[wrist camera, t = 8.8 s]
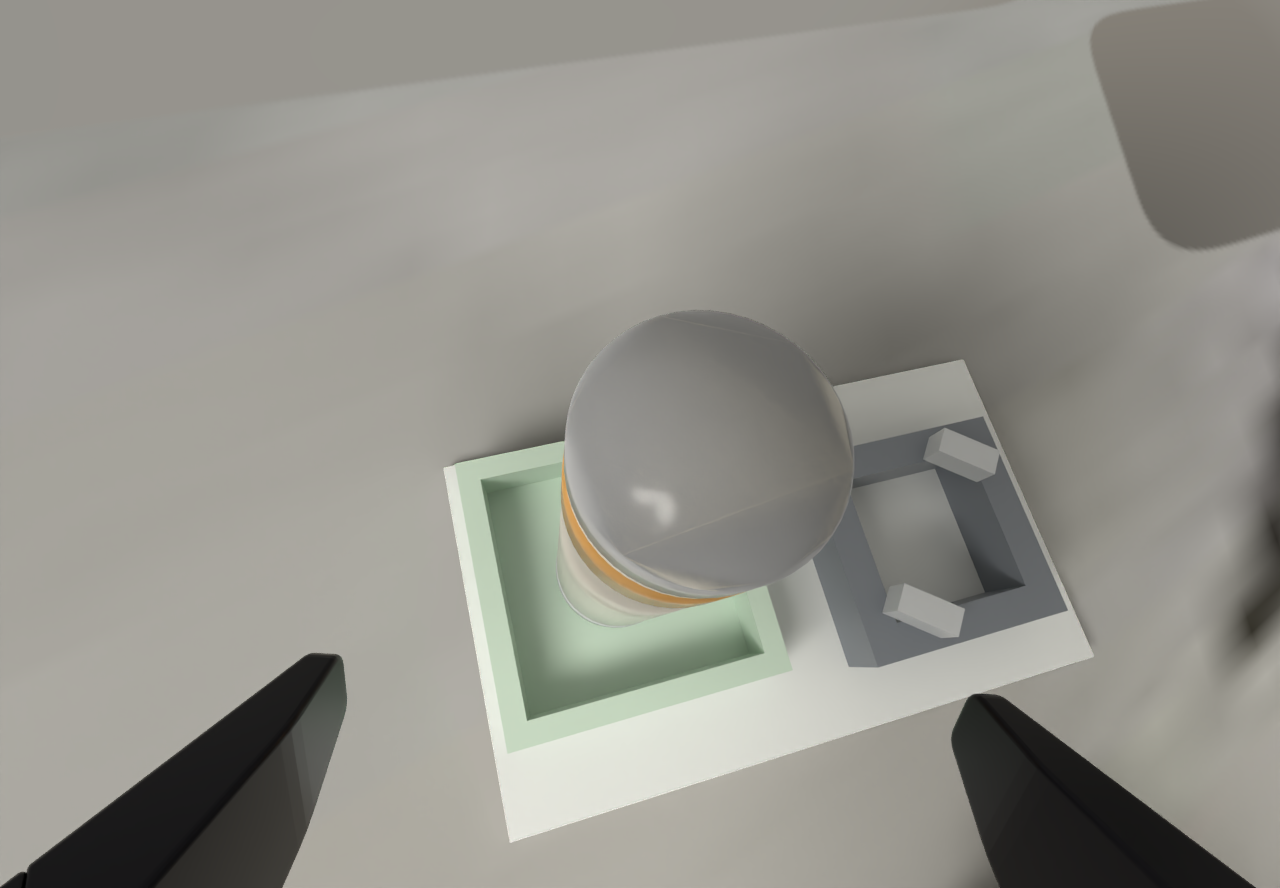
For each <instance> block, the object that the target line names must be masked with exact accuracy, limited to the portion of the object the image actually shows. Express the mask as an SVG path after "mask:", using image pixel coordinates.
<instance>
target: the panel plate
mask: <svg viewBox="0 0 1280 888" xmlns="http://www.w3.org/2000/svg"><path fill="white" fill-rule="evenodd" d="M833 388H834V390H835V391H836V393H837V395H838V397H839V398H840V401H841V403H842V405H843V408H844V410H845V413H846V415H847V418H848V422H849V426H850V429H851V433H852V440H853V446H856V445H860V444H865V443H869V442H873V441H878V440H882V439H886V438H891V437H895V436H899V435H904V434H908V433H913V432H917V431H921V430H926V429H930V428H934V427H939V426H943V425H948V424H952V423H956V422H961V421H965V420H969V419H974V418H978V417H982V416H983V417H984V420H985V422H986V424H987V426H988V429H989V431H990V433H991V436H992V438H993V440H994V442H995V445H996V447H997V449H998V450H999V451H1000V453H999V454H1000V456H1001V458H1002V461H1003V463H1004V465H1005V467H1006V470H1007V472H1008V474H1009V477H1010V479H1011V481H1012V483H1013V486H1014V488H1015V490H1016V493H1017V495H1018V497H1019V499H1020V502H1021V504H1022V506H1023V509H1024V511H1025V513H1026V515H1027V518H1028V520H1029V522H1030V524H1031V527H1032V529H1033V531H1034V534H1035V536H1036V538H1037V540H1038V543H1039V545H1040V547H1041V550H1042V552H1043V554H1044V556H1045V559H1046V561H1047V563H1048V565H1049V568H1050V570H1051V572H1052V575H1053V577H1054V579H1055V581H1056V584H1057V586H1058V588H1059V591H1060V593H1061V595H1062V597H1063V600H1064V602H1065V604H1066V607H1067V609H1068V611H1065V612H1062V613H1058V614H1055V615H1052V616H1048V617H1045V618H1042V619H1038V620H1035V621H1032V622H1028V623H1025V624H1022V625H1018V626H1015V627H1012V628H1008V629H1005V630H1002V631H998V632H995V633H992V634H988V635H985V636H982V637H978V638H975V639H972V640H968V641H965V642H962V643H958V644H955V645H952V646H948V647H945V648H942V649H938V650H935V651H932V652H928V653H925V654H922V655H918V656H915V657H912V658H908V659H905V660H902V661H898V662H895V663H892V664H888V665H885V666H882V667H878V668H875V667H849V666H848V663H847V660H846V657H845V654H844V651H843V648H842V645H841V642H840V639H839V636H838V633H837V630H836V627H835V624H834V621H833V618H832V615H831V612H830V609H829V606H828V603H827V600H826V597H825V594H824V591H823V588H822V585H821V582H820V580H819V577H818V574H817V571H816V568H815V565H814V562H813V559H811V560H810V561H809V562H808V563H807V564H805V565H804V566H802V567H801V568H799V569H798V570H797V571H795V572H794V573H792V574H791V575H789V576H787V577H785V578H782V579H780V580H778V581H776V582H774V583H772V584H768V585H766V586H767V589H768V592H769V595H770V598H771V602H772V605H773V608H774V611H775V614H776V618H777V621H778V624H779V627H780V631H781V634H782V637H783V640H784V643H785V647H786V650H787V653H788V656H789V660H790V663H791V666H792V669H793V670H792V671H789V672H785V673H782V674H778V675H775V676H771V677H768V678H765V679H761V680H758V681H754V682H751V683H748V684H744V685H741V686H737V687H734V688H731V689H727V690H724V691H720V692H717V693H713V694H710V695H707V696H703V697H700V698H696V699H693V700H690V701H686V702H683V703H679V704H676V705H673V706H669V707H666V708H662V709H659V710H656V711H652V712H649V713H645V714H642V715H638V716H635V717H632V718H628V719H625V720H621V721H618V722H615V723H611V724H608V725H604V726H601V727H598V728H594V729H591V730H587V731H584V732H580V733H577V734H574V735H570V736H567V737H563V738H560V739H557V740H553V741H550V742H546V743H543V744H540V745H536V746H533V747H529V748H526V749H523V750H519V751H516V752H512V753H509V754H507V748H506V743H505V737H504V732H503V726H502V721H501V715H500V710H499V705H498V699H497V694H496V688H495V683H494V677H493V672H492V666H491V661H490V655H489V650H488V644H487V639H486V633H485V628H484V622H483V617H482V611H481V606H480V600H479V595H478V590H477V584H476V579H475V573H474V568H473V562H472V557H471V551H470V546H469V540H468V535H467V529H466V524H465V518H464V513H463V507H462V502H461V496H460V491H459V486H458V480H457V475H456V469H455V465H454V466H449V467H445V468H444V474H445V480H446V485H447V491H448V497H449V502H450V508H451V513H452V519H453V525H454V530H455V536H456V542H457V547H458V553H459V559H460V564H461V570H462V576H463V581H464V587H465V593H466V598H467V604H468V609H469V615H470V621H471V626H472V632H473V638H474V643H475V649H476V655H477V660H478V666H479V672H480V677H481V683H482V688H483V694H484V700H485V705H486V711H487V717H488V722H489V728H490V734H491V739H492V745H493V751H494V756H495V762H496V768H497V773H498V779H499V784H500V790H501V796H502V801H503V807H504V813H505V818H506V824H507V830H508V835H509V841H510V843H511V842H514V841H517V840H521V839H524V838H527V837H530V836H533V835H536V834H539V833H542V832H546V831H549V830H552V829H555V828H558V827H561V826H564V825H568V824H571V823H574V822H577V821H580V820H583V819H586V818H590V817H593V816H596V815H599V814H602V813H605V812H608V811H612V810H615V809H618V808H621V807H624V806H627V805H630V804H634V803H637V802H640V801H643V800H646V799H649V798H652V797H656V796H659V795H662V794H665V793H668V792H671V791H674V790H678V789H681V788H684V787H687V786H690V785H693V784H696V783H699V782H703V781H706V780H709V779H712V778H715V777H718V776H721V775H725V774H728V773H731V772H734V771H737V770H740V769H743V768H747V767H750V766H753V765H756V764H759V763H762V762H765V761H769V760H772V759H775V758H778V757H781V756H784V755H787V754H791V753H794V752H797V751H800V750H803V749H806V748H809V747H813V746H816V745H819V744H822V743H825V742H828V741H831V740H834V739H838V738H841V737H844V736H847V735H850V734H853V733H856V732H860V731H863V730H866V729H869V728H872V727H875V726H878V725H882V724H885V723H888V722H891V721H894V720H897V719H900V718H904V717H907V716H910V715H913V714H916V713H919V712H922V711H926V710H929V709H932V708H935V707H938V706H941V705H944V704H948V703H951V702H954V701H957V700H960V699H963V698H966V697H970V696H971V695H972V694H979V693H982V692H985V691H988V690H991V689H995V688H998V687H1001V686H1004V685H1007V684H1010V683H1013V682H1017V681H1020V680H1023V679H1026V678H1029V677H1032V676H1035V675H1039V674H1042V673H1045V672H1048V671H1051V670H1054V669H1057V668H1061V667H1064V666H1067V665H1070V664H1073V663H1076V662H1079V661H1083V660H1086V659H1089V658H1092V657H1095V656H1094V654H1093V652H1092V650H1091V647H1090V645H1089V643H1088V641H1087V638H1086V636H1085V634H1084V632H1083V629H1082V627H1081V625H1080V622H1079V620H1078V618H1077V616H1076V613H1075V611H1074V609H1073V607H1072V604H1071V602H1070V600H1069V598H1068V595H1067V593H1066V591H1065V588H1064V586H1063V584H1062V582H1061V579H1060V577H1059V575H1058V573H1057V570H1056V568H1055V566H1054V564H1053V561H1052V559H1051V557H1050V555H1049V552H1048V550H1047V548H1046V545H1045V543H1044V541H1043V539H1042V536H1041V534H1040V532H1039V530H1038V527H1037V525H1036V523H1035V521H1034V518H1033V516H1032V514H1031V511H1030V509H1029V507H1028V505H1027V502H1026V500H1025V498H1024V496H1023V493H1022V491H1021V489H1020V487H1019V484H1018V482H1017V480H1016V477H1015V475H1014V473H1013V471H1012V468H1011V466H1010V464H1009V462H1008V459H1007V457H1006V455H1005V453H1004V450H1003V448H1002V446H1001V443H1000V441H999V439H998V437H997V434H996V432H995V430H994V428H993V425H992V423H991V421H990V419H989V416H988V414H987V412H986V409H985V407H984V405H983V403H982V400H981V398H980V396H979V394H978V391H977V389H976V387H975V385H974V382H973V380H972V378H971V375H970V373H969V371H968V369H967V366H966V364H965V362H964V360H963V359H961V360H957V361H952V362H947V363H942V364H937V365H933V366H928V367H923V368H918V369H913V370H909V371H904V372H899V373H894V374H890V375H885V376H880V377H875V378H870V379H866V380H861V381H856V382H851V383H846V384H842V385H837V386H833ZM850 495H851V498H852V500H853V503H854V506H855V509H856V511H857V514H858V517H859V520H860V522H861V525H862V528H863V531H864V533H865V536H866V539H867V542H868V544H869V547H870V550H871V553H872V556H873V558H874V561H875V564H876V567H877V569H878V572H879V575H880V578H881V580H882V583H883V586H884V589H885V591H886V594H887V593H888V589H889V587H890V586H894V585H898V584H903V583H906V584H908V585H910V586H913V587H915V588H917V589H920V590H922V591H924V592H927V593H929V594H931V595H934V596H936V597H938V598H941V599H943V600H945V601H948V602H953V601H957V600H960V599H964V598H967V597H971V596H974V595H978V594H981V593H985V591H984V589H983V586H982V584H981V581H980V579H979V576H978V574H977V571H976V569H975V566H974V564H973V561H972V559H971V557H970V554H969V552H968V549H967V547H966V544H965V542H964V539H963V537H962V534H961V532H960V529H959V527H958V524H957V522H956V520H955V517H954V515H953V512H952V510H951V507H950V505H949V502H948V500H947V497H946V495H945V492H944V490H943V487H942V485H941V483H940V480H939V478H938V475H937V473H936V470H935V469H931V470H927V471H923V472H919V473H915V474H911V475H907V476H902V477H898V478H894V479H890V480H886V481H882V482H878V483H874V484H869V485H865V486H861V487H857V488H853V489H852V490H851V494H850Z"/></svg>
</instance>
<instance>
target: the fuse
mask: <svg viewBox="0 0 1280 888" xmlns="http://www.w3.org/2000/svg"><path fill="white" fill-rule="evenodd" d="M853 477H854V446H853V440H852V433H851V429H850V426H849V422H848V418H847V415H846V413H845V410H844V408H843V405H842V403H841V401H840V398H839V397H838V395H837V393H836V391H835V390H834V388H833V386H832V384H831V383H830V381H829V380H828V378H827V377H826V376H825V374H824V373H823V372H822V370H821V369H820V368H819V367H818V365H817V364H816V363H815V362H814V361H813V360H812V359H811V358H810V357H809V356H808V355H807V354H806V353H805V352H804V351H803V350H802V349H800V348H799V347H798V346H797V345H796V344H795V343H793V342H792V341H790V340H789V339H787V338H786V337H784V336H783V335H782V334H780V333H778V332H777V331H775V330H773V329H771V328H769V327H767V326H765V325H763V324H761V323H758V322H756V321H753V320H751V319H748V318H745V317H741V316H738V315H734V314H730V313H724V312H717V311H705V310H691V311H680V312H674V313H669V314H665V315H660V316H657V317H654V318H651V319H649V320H646V321H643V322H641V323H639V324H637V325H635V326H633V327H631V328H629V329H628V330H626V331H625V332H623V333H622V334H620V335H619V336H617V337H616V338H615V339H613V340H612V341H611V342H610V343H609V344H608V345H607V346H605V347H604V348H603V349H602V350H601V351H600V352H599V353H598V355H597V356H596V357H595V358H594V360H593V361H592V362H591V363H590V364H589V366H588V367H587V369H586V371H585V372H584V374H583V376H582V377H581V379H580V381H579V383H578V385H577V388H576V390H575V392H574V394H573V397H572V400H571V404H570V408H569V411H568V416H567V423H566V431H565V444H564V454H563V463H562V477H561V513H560V526H559V538H558V551H557V557H556V576H557V582H558V585H559V589H560V591H561V593H562V596H563V597H564V599H565V601H566V602H567V603H568V605H569V606H570V607H571V609H573V610H574V611H575V612H576V613H577V614H578V615H579V616H581V617H582V618H583V619H585V620H587V621H589V622H591V623H593V624H596V625H599V626H603V627H610V628H622V627H627V626H631V625H635V624H638V623H641V622H643V621H646V620H649V619H652V618H655V617H659V616H662V615H665V614H669V613H672V612H675V611H678V610H682V609H685V608H689V607H695V606H700V605H704V604H708V603H711V602H715V601H718V600H721V599H725V598H728V597H731V596H735V595H738V594H741V593H744V592H746V591H750V590H753V589H756V588H759V587H762V586H765V585H768V584H772V583H774V582H776V581H778V580H780V579H782V578H785V577H787V576H789V575H791V574H792V573H794V572H795V571H797V570H798V569H799V568H801V567H802V566H804V565H805V564H807V563H808V562H809V561H810V560H811V559H812V558H813V557H814V556H815V555H816V554H817V553H819V552H820V551H821V549H822V548H823V547H824V546H825V544H826V543H827V542H828V541H829V539H830V538H831V537H832V535H833V534H834V532H835V530H836V529H837V527H838V525H839V523H840V522H841V520H842V517H843V515H844V512H845V510H846V508H847V505H848V502H849V498H850V494H851V490H852V486H853Z"/></svg>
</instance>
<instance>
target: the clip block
mask: <svg viewBox="0 0 1280 888" xmlns="http://www.w3.org/2000/svg"><path fill="white" fill-rule="evenodd" d="M999 453H1000V451H999V450H998V449H997V447H996V445H995V442H994V440H993V438H992V436H991V433H990V431H989V429H988V426H987V424H986V422H985V420H984V417H983V416H982V417H978V418H974V419H969V420H965V421H961V422H956V423H952V424H948V425H943V426H939V427H934V428H930V429H926V430H921V431H917V432H913V433H908V434H904V435H899V436H895V437H891V438H886V439H882V440H878V441H873V442H869V443H865V444H860V445H856V446H854V477H853V486H852V489H853V488H857V487H861V486H865V485H869V484H874V483H878V482H882V481H886V480H890V479H894V478H898V477H902V476H907V475H911V474H915V473H919V472H923V471H927V470H931V469H935V470H936V473H937V475H938V478H939V480H940V483H941V485H942V487H943V490H944V492H945V495H946V497H947V500H948V502H949V505H950V507H951V510H952V512H953V515H954V517H955V520H956V522H957V524H958V527H959V529H960V532H961V534H962V537H963V539H964V542H965V544H966V547H967V549H968V552H969V554H970V557H971V559H972V561H973V564H974V566H975V569H976V571H977V574H978V576H979V579H980V581H981V584H982V586H983V589H984V591H985V593H981V594H978V595H974V596H971V597H967V598H964V599H960V600H957V601H953V602H948V601H945V600H943V599H941V598H938V597H936V596H934V595H931V594H929V593H927V592H924V591H922V590H920V589H917V588H915V587H913V586H910V585H908V584H906V583H903V584H898V585H894V586H890V587H889V589H888V593H887V594H886V591H885V589H884V586H883V583H882V580H881V578H880V575H879V572H878V569H877V567H876V564H875V561H874V558H873V556H872V553H871V550H870V547H869V544H868V542H867V539H866V536H865V533H864V531H863V528H862V525H861V522H860V520H859V517H858V514H857V511H856V509H855V506H854V503H853V500H852V498H851V495H850V498H849V502H848V505H847V508H846V510H845V512H844V515H843V517H842V520H841V522H840V523H839V525H838V527H837V529H836V530H835V532H834V534H833V535H832V537H831V538H830V539H829V541H828V542H827V543H826V544H825V546H824V547H823V548H822V549H821V551H820V552H819V553H817V554H816V555H815V556H814V557H813V558H812V559H813V562H814V565H815V568H816V571H817V574H818V577H819V580H820V582H821V585H822V588H823V591H824V594H825V597H826V600H827V603H828V606H829V609H830V612H831V615H832V618H833V621H834V624H835V627H836V630H837V633H838V636H839V639H840V642H841V645H842V648H843V651H844V654H845V657H846V660H847V663H848V666H849V667H875V668H878V667H882V666H885V665H888V664H892V663H895V662H898V661H902V660H905V659H908V658H912V657H915V656H918V655H922V654H925V653H928V652H932V651H935V650H938V649H942V648H945V647H948V646H952V645H955V644H958V643H962V642H965V641H968V640H972V639H975V638H978V637H982V636H985V635H988V634H992V633H995V632H998V631H1002V630H1005V629H1008V628H1012V627H1015V626H1018V625H1022V624H1025V623H1028V622H1032V621H1035V620H1038V619H1042V618H1045V617H1048V616H1052V615H1055V614H1058V613H1062V612H1065V611H1068V609H1067V607H1066V604H1065V602H1064V600H1063V597H1062V595H1061V593H1060V591H1059V588H1058V586H1057V584H1056V581H1055V579H1054V577H1053V575H1052V572H1051V570H1050V568H1049V565H1048V563H1047V561H1046V559H1045V556H1044V554H1043V552H1042V550H1041V547H1040V545H1039V543H1038V540H1037V538H1036V536H1035V534H1034V531H1033V529H1032V527H1031V524H1030V522H1029V520H1028V518H1027V515H1026V513H1025V511H1024V509H1023V506H1022V504H1021V502H1020V499H1019V497H1018V495H1017V493H1016V490H1015V488H1014V486H1013V483H1012V481H1011V479H1010V477H1009V474H1008V472H1007V470H1006V467H1005V465H1004V463H1003V461H1002V458H1001V456H1000V454H999Z"/></svg>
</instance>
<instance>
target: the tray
mask: <svg viewBox="0 0 1280 888" xmlns="http://www.w3.org/2000/svg"><path fill="white" fill-rule="evenodd" d="M564 444H565V441H561V442H556V443H551V444H547V445H542V446H537V447H532V448H527V449H523V450H518V451H513V452H508V453H503V454H499V455H494V456H489V457H484V458H479V459H475V460H470V461H465V462H460V463H455V469H456V475H457V480H458V486H459V491H460V496H461V502H462V507H463V513H464V518H465V524H466V529H467V535H468V540H469V546H470V551H471V557H472V562H473V568H474V573H475V579H476V584H477V590H478V595H479V600H480V606H481V611H482V617H483V622H484V628H485V633H486V639H487V644H488V650H489V655H490V661H491V666H492V672H493V677H494V683H495V688H496V694H497V699H498V705H499V710H500V715H501V721H502V726H503V732H504V737H505V743H506V748H507V754H509V753H512V752H516V751H519V750H523V749H526V748H529V747H533V746H536V745H540V744H543V743H546V742H550V741H553V740H557V739H560V738H563V737H567V736H570V735H574V734H577V733H580V732H584V731H587V730H591V729H594V728H598V727H601V726H604V725H608V724H611V723H615V722H618V721H621V720H625V719H628V718H632V717H635V716H638V715H642V714H645V713H649V712H652V711H656V710H659V709H662V708H666V707H669V706H673V705H676V704H679V703H683V702H686V701H690V700H693V699H696V698H700V697H703V696H707V695H710V694H713V693H717V692H720V691H724V690H727V689H731V688H734V687H737V686H741V685H744V684H748V683H751V682H754V681H758V680H761V679H765V678H768V677H771V676H775V675H778V674H782V673H785V672H789V671H792V670H793V669H792V666H791V663H790V660H789V656H788V653H787V650H786V647H785V643H784V640H783V637H782V634H781V631H780V627H779V624H778V621H777V618H776V614H775V611H774V608H773V605H772V602H771V598H770V595H769V592H768V589H767V586H766V585H765V586H762V587H759V588H756V589H753V590H750V591H746V592H744V593H741V594H738V595H735V596H731V597H728V598H725V599H721V600H718V601H715V602H711V603H708V604H704V605H700V606H695V607H689V608H685V609H682V610H678V611H675V612H672V613H669V614H665V615H662V616H659V617H655V618H652V619H649V620H646V621H643V622H641V623H638V624H635V625H631V626H627V627H622V628H610V627H603V626H599V625H596V624H593V623H591V622H589V621H587V620H585V619H583V618H582V617H581V616H579V615H578V614H577V613H576V612H575V611H574V610H573V609H571V607H570V606H569V605H568V603H567V602H566V601H565V599H564V597H563V596H562V593H561V591H560V589H559V585H558V582H557V576H556V557H557V551H558V538H559V526H560V513H561V477H562V463H563V454H564Z"/></svg>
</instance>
